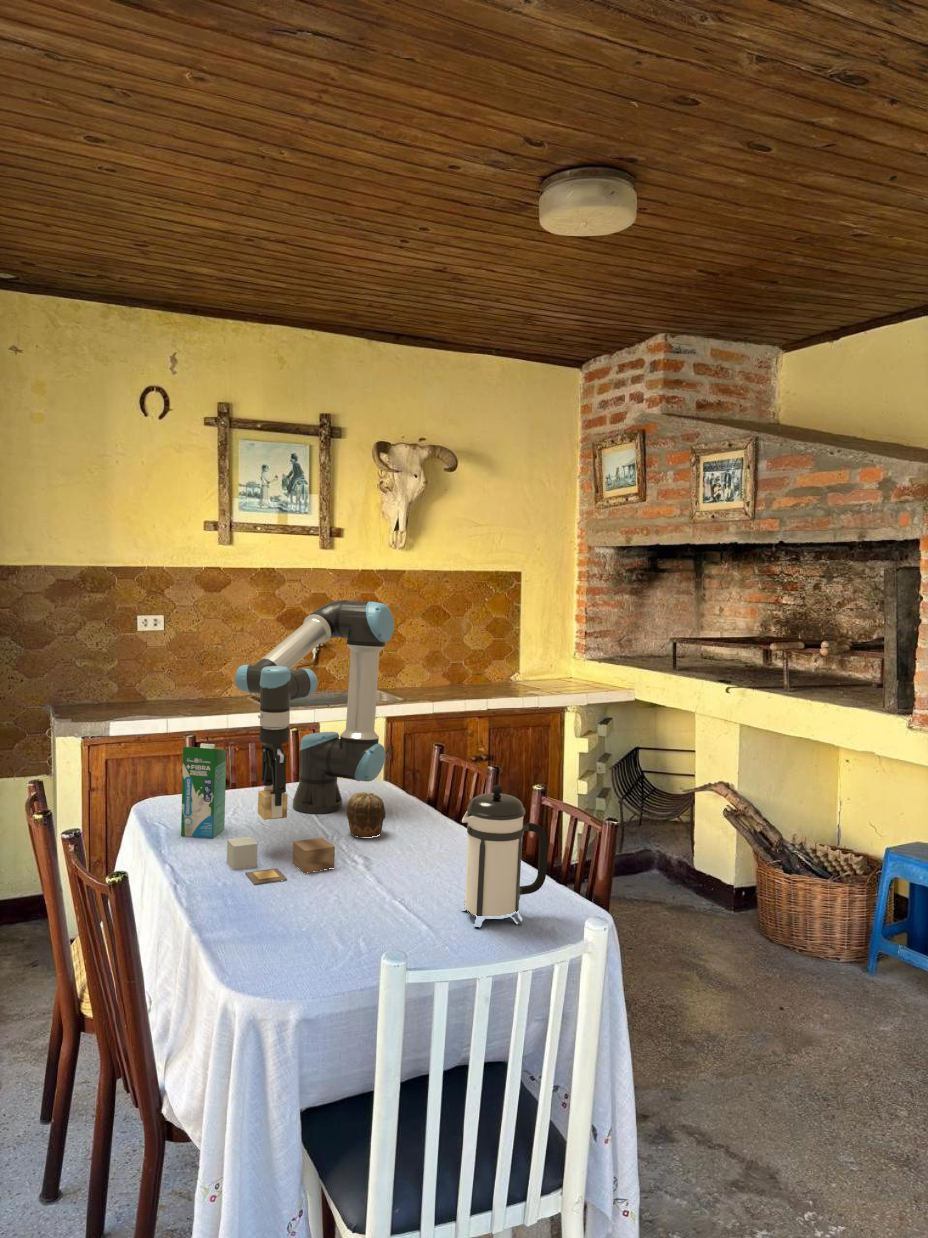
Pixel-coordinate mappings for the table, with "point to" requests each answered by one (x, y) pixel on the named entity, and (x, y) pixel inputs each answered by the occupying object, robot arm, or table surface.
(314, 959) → the table surface
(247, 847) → the beige cube
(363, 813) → the shell
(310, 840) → the walnut block
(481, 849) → the coffee press
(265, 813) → the maple cube
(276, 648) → the robot arm
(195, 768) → the milk carton
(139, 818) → the table surface
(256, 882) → the tile
